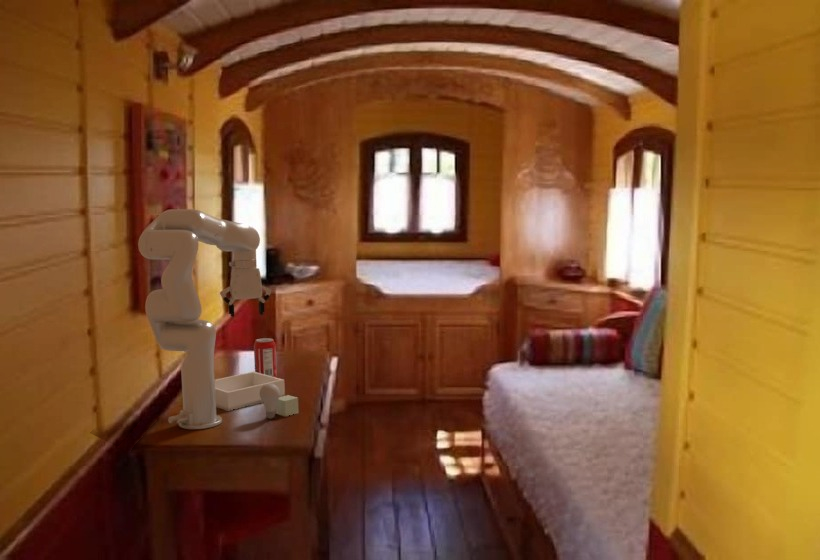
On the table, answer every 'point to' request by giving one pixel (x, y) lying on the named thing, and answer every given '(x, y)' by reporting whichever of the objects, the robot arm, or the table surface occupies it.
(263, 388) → the lightbulb
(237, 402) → the tote
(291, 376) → the table surface
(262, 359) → the soda can
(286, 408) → the sage cube
